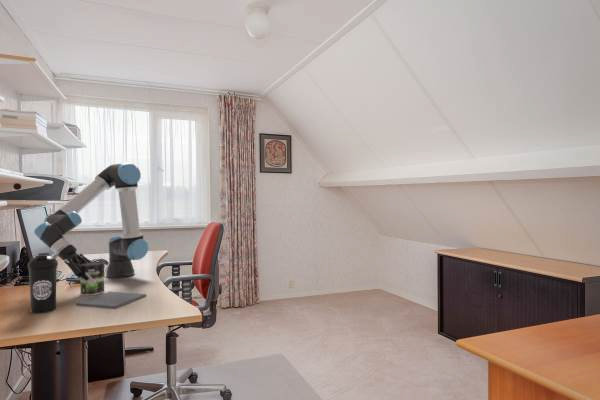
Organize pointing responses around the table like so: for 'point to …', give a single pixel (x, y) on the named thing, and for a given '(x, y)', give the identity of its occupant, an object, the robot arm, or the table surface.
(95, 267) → the coffee can
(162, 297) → the table surface
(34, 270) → the water bottle
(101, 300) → the rubber mat
